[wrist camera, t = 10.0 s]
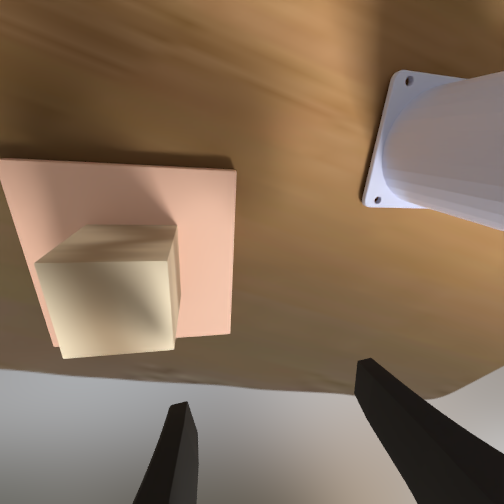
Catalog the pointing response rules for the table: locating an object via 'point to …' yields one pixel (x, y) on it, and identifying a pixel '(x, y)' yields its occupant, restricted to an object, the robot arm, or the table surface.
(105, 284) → the birch cube
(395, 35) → the table surface
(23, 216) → the salmon pink board
